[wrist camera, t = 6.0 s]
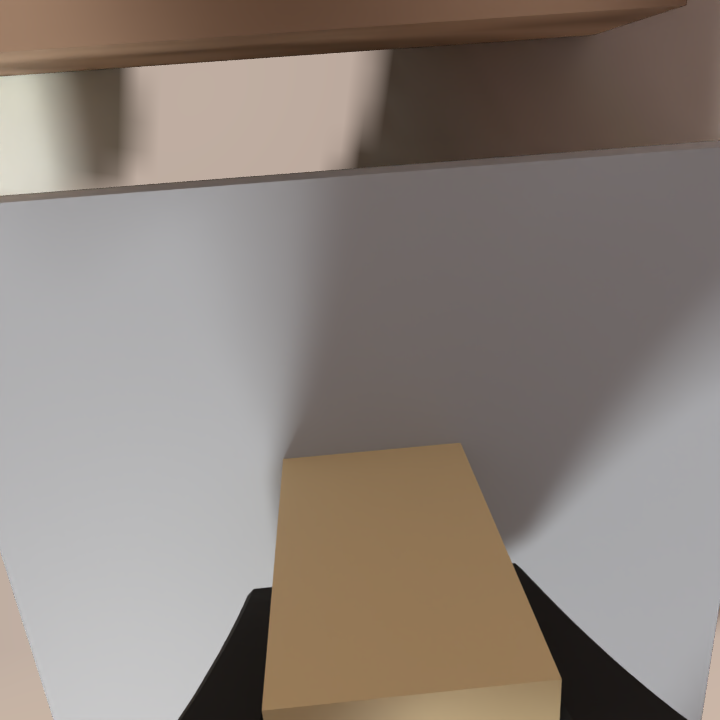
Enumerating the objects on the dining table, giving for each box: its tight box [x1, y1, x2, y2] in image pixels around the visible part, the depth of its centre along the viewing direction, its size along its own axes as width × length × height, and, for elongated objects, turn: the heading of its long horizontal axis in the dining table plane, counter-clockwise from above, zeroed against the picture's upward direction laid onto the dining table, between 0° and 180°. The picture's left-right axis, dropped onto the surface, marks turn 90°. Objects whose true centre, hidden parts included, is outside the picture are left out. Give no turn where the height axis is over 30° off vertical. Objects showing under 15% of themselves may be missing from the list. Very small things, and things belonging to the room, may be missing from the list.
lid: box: [0, 140, 720, 720], centre depth 10 cm, size 13×13×6 cm
